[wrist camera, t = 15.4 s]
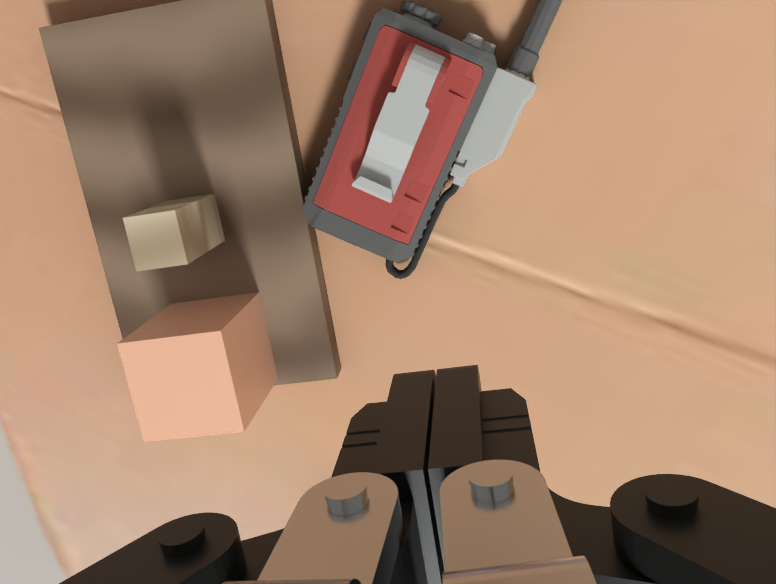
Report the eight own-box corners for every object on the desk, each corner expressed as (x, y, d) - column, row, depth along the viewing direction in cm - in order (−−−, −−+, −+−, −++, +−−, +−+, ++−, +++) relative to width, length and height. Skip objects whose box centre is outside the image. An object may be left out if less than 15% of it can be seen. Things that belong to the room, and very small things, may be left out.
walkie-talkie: (439, 288, 40) (606, -73, 35) (437, 312, 36) (626, -95, 30) (297, 227, 40) (440, -147, 34) (277, 243, 36) (437, -179, 30)
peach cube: (171, 303, 40) (116, 343, 34) (259, 292, 40) (220, 330, 33) (192, 388, 42) (143, 442, 35) (277, 378, 41) (244, 431, 35)
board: (54, 30, 38) (-32, 17, 32) (269, -12, 37) (226, -34, 30) (150, 390, 44) (93, 444, 37) (341, 368, 42) (318, 421, 35)
